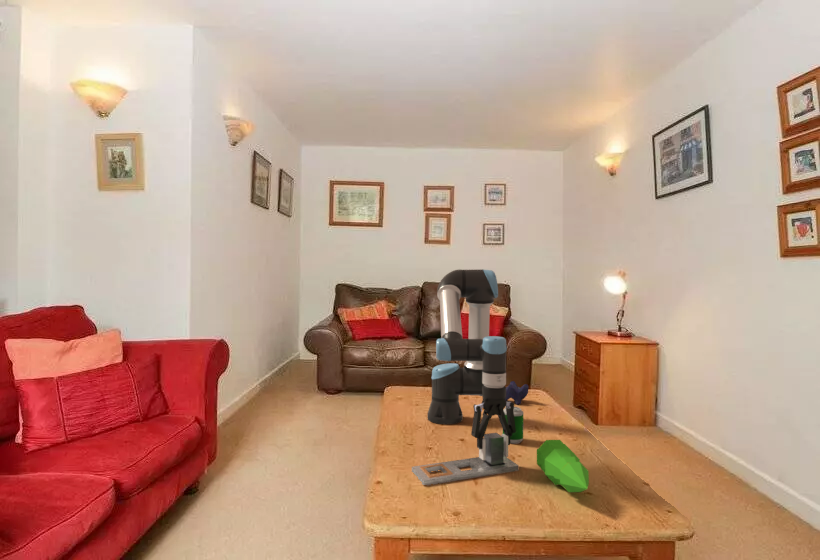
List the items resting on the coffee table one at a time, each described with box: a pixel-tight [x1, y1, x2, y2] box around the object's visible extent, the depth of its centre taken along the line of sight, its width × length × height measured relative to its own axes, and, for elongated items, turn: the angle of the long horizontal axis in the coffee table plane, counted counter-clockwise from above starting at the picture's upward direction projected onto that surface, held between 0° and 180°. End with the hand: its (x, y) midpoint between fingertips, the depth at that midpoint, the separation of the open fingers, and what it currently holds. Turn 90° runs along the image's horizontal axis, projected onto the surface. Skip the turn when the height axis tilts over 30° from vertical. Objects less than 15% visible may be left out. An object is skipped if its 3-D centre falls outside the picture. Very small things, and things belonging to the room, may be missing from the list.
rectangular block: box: [483, 432, 504, 466], centre depth 141 cm, size 4×4×10 cm
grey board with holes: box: [411, 456, 520, 486], centre depth 138 cm, size 10×32×2 cm, turn 110°
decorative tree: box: [536, 439, 590, 493], centre depth 128 cm, size 11×12×30 cm
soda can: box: [502, 406, 524, 445], centre depth 164 cm, size 8×8×12 cm
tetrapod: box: [505, 380, 530, 406], centre depth 217 cm, size 11×12×11 cm
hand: (493, 456), depth 141 cm, fingers open, 8 cm apart
